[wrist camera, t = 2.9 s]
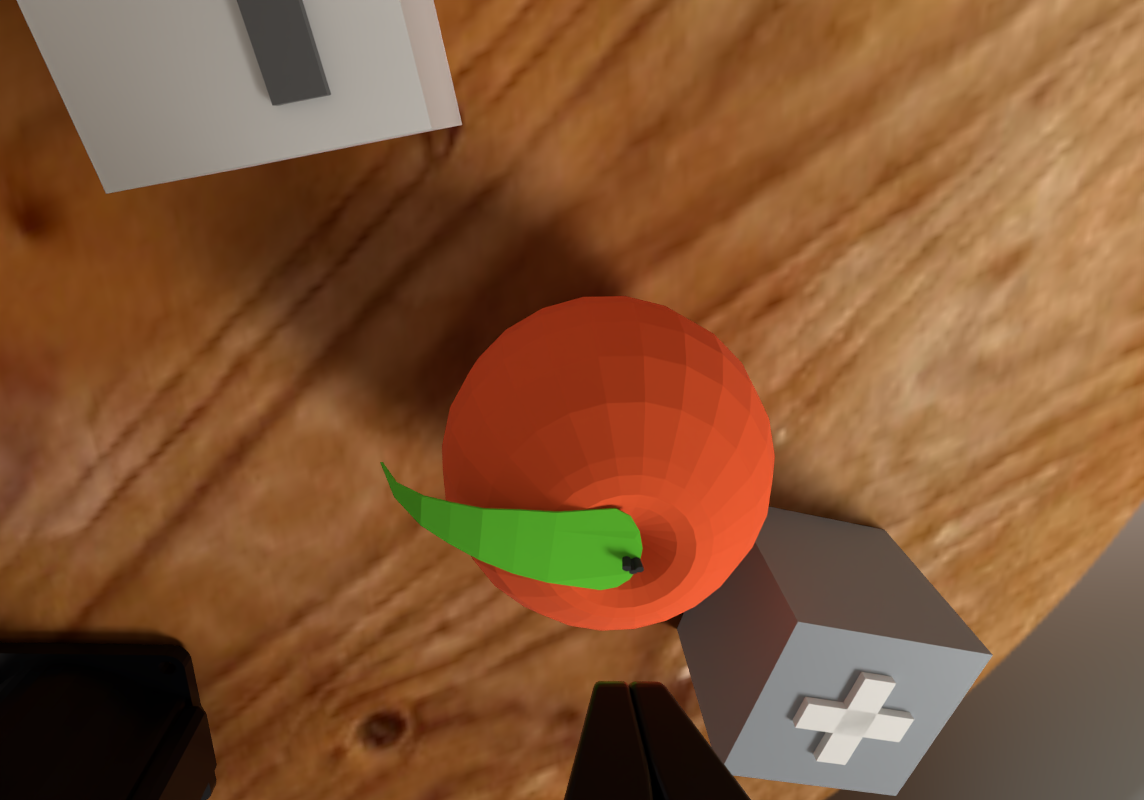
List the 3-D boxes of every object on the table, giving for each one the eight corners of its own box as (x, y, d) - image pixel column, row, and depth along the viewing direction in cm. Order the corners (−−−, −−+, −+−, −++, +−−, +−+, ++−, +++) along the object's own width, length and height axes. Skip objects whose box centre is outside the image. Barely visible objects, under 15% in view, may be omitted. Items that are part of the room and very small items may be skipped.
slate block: (676, 627, 20) (721, 780, 16) (731, 497, 19) (801, 628, 14) (816, 650, 21) (899, 803, 17) (883, 528, 19) (998, 661, 15)
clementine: (412, 493, 18) (346, 711, 11) (420, 241, 15) (341, 338, 8) (691, 513, 19) (779, 726, 12) (747, 280, 16) (901, 393, 9)
